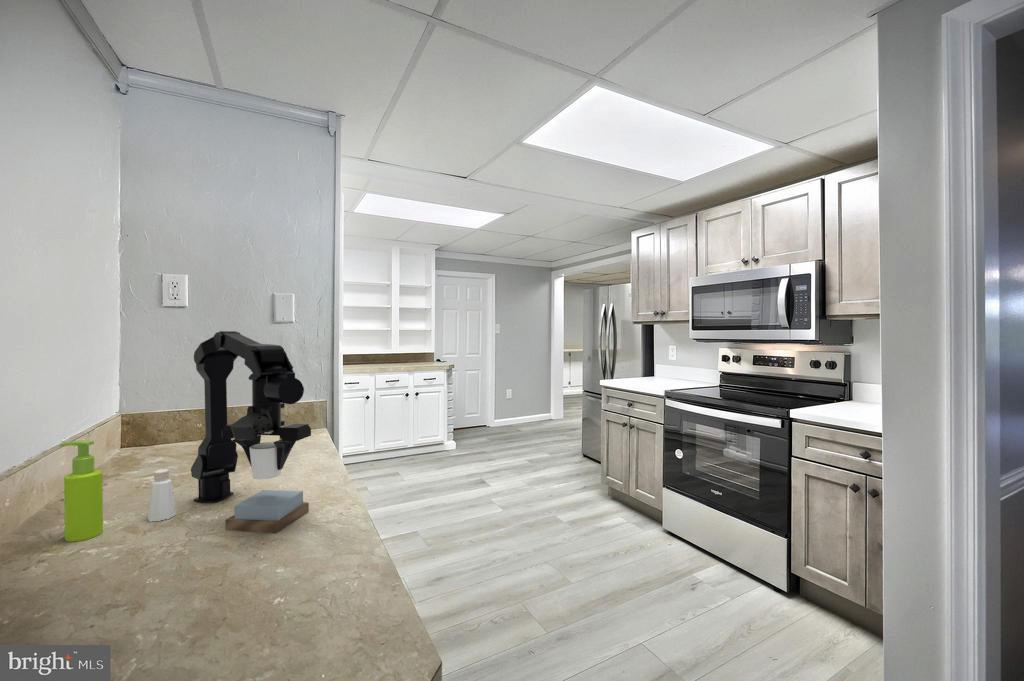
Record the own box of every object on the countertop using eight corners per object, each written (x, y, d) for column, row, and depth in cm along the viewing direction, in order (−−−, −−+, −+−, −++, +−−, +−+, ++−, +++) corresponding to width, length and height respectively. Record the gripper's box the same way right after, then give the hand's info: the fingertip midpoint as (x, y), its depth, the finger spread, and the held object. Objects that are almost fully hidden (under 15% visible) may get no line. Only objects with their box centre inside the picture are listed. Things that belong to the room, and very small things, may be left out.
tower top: (234, 519, 99) (234, 505, 99) (262, 502, 109) (262, 490, 109) (278, 520, 99) (278, 506, 99) (303, 503, 109) (303, 491, 109)
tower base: (225, 533, 99) (225, 519, 99) (263, 512, 111) (263, 500, 111) (275, 536, 98) (275, 522, 98) (308, 514, 109) (308, 502, 109)
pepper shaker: (181, 514, 108) (181, 468, 108) (157, 523, 103) (157, 474, 103) (165, 511, 110) (165, 466, 110) (141, 520, 105) (140, 472, 104)
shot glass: (269, 481, 100) (268, 449, 100) (242, 479, 101) (241, 447, 101) (290, 472, 107) (290, 442, 106) (265, 470, 108) (264, 440, 108)
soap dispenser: (76, 530, 99) (75, 438, 99) (110, 529, 100) (109, 438, 100) (51, 542, 93) (50, 445, 93) (87, 541, 94) (86, 444, 94)
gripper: (201, 404, 97) (201, 477, 97) (280, 407, 94) (280, 482, 95) (240, 397, 108) (240, 463, 108) (312, 399, 105) (312, 466, 106)
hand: (267, 468), depth 104 cm, fingers closed on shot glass, 6 cm apart
